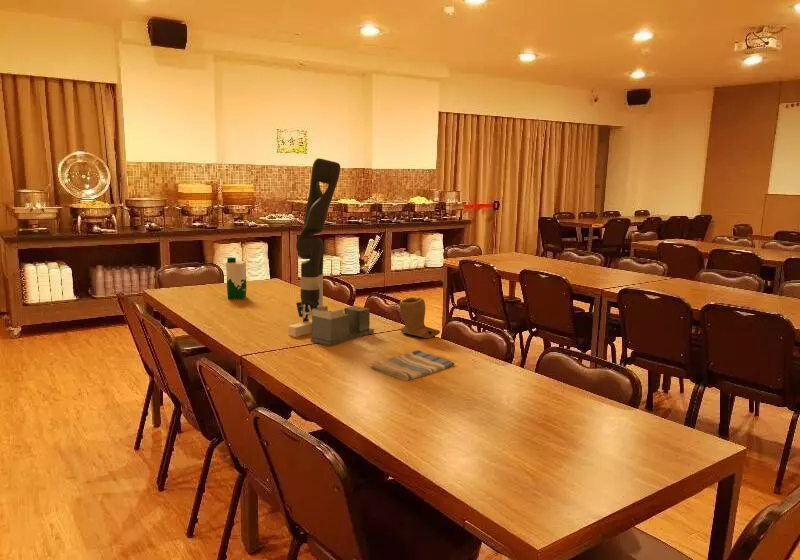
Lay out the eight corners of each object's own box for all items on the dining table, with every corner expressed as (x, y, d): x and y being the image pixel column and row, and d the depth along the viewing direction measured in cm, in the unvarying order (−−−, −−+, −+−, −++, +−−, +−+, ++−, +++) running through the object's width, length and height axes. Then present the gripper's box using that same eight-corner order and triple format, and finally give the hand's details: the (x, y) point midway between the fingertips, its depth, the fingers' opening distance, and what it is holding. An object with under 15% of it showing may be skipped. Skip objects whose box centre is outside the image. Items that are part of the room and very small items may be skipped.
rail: (288, 335, 238) (288, 326, 237) (324, 326, 253) (324, 316, 253) (295, 337, 235) (295, 327, 234) (331, 327, 251) (331, 318, 250)
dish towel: (368, 369, 200) (368, 361, 200) (418, 355, 216) (418, 348, 216) (406, 383, 188) (406, 374, 187) (455, 367, 204) (455, 359, 204)
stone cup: (392, 333, 242) (393, 297, 240) (414, 329, 250) (415, 293, 248) (419, 342, 231) (420, 303, 229) (440, 336, 239) (442, 299, 237)
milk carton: (230, 295, 307) (229, 256, 303) (248, 296, 307) (247, 257, 303) (225, 299, 298) (224, 259, 295) (243, 299, 298) (242, 259, 295)
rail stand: (310, 341, 229) (310, 309, 227) (354, 328, 249) (355, 298, 247) (330, 346, 224) (330, 313, 221) (373, 332, 243) (374, 302, 241)
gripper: (290, 286, 242) (291, 327, 245) (316, 291, 234) (316, 334, 237) (304, 283, 248) (304, 324, 251) (329, 288, 240) (329, 330, 243)
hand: (310, 328), depth 244 cm, fingers open, 4 cm apart
